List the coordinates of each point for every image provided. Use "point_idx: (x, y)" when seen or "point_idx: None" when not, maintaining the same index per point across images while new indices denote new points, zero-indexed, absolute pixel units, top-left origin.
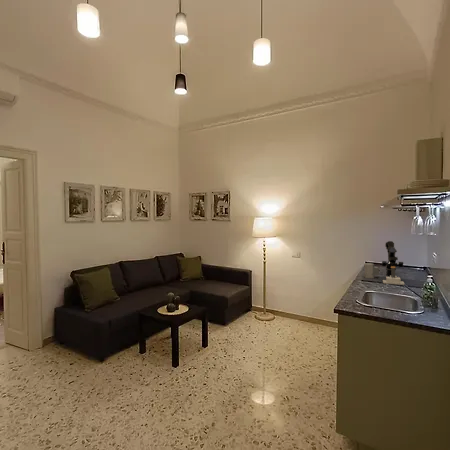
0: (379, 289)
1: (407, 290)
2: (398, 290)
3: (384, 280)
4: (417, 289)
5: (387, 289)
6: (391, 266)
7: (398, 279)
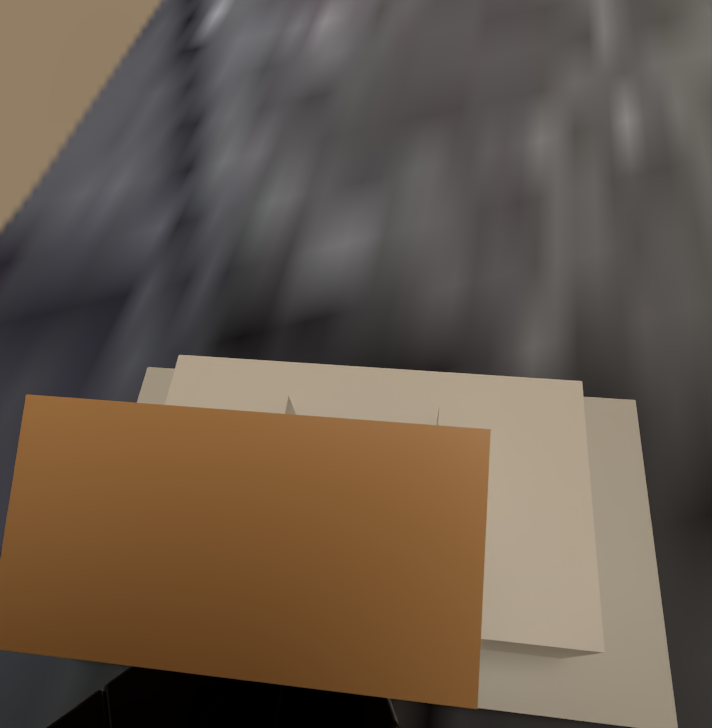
0: (657, 15)
1: (246, 67)
2: (380, 38)
3: (614, 638)
4: (63, 146)
5: (538, 42)
6: (421, 431)
7: (239, 365)
